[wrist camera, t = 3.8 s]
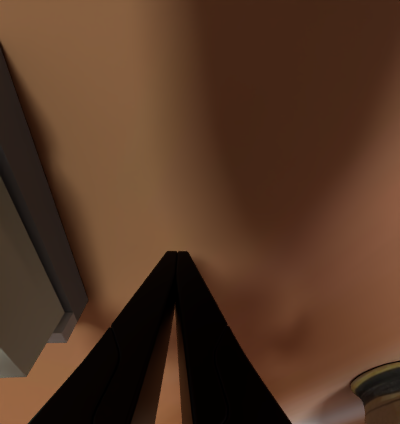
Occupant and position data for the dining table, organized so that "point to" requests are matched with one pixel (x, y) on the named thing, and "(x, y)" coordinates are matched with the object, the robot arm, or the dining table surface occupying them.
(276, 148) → the dining table surface
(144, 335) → the robot arm
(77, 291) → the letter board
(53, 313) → the sage shutter
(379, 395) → the amphora
